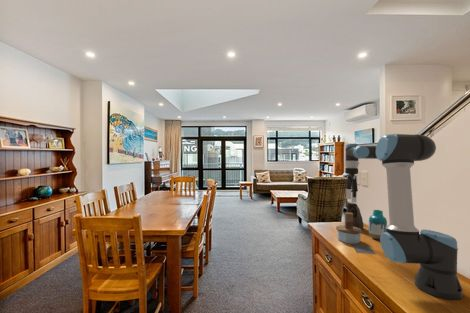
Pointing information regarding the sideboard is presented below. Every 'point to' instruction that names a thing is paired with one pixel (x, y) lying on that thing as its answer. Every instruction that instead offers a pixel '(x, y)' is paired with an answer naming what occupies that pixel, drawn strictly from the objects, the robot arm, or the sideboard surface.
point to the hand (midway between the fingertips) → (351, 200)
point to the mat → (363, 249)
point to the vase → (377, 224)
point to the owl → (355, 214)
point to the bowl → (348, 237)
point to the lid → (348, 225)
